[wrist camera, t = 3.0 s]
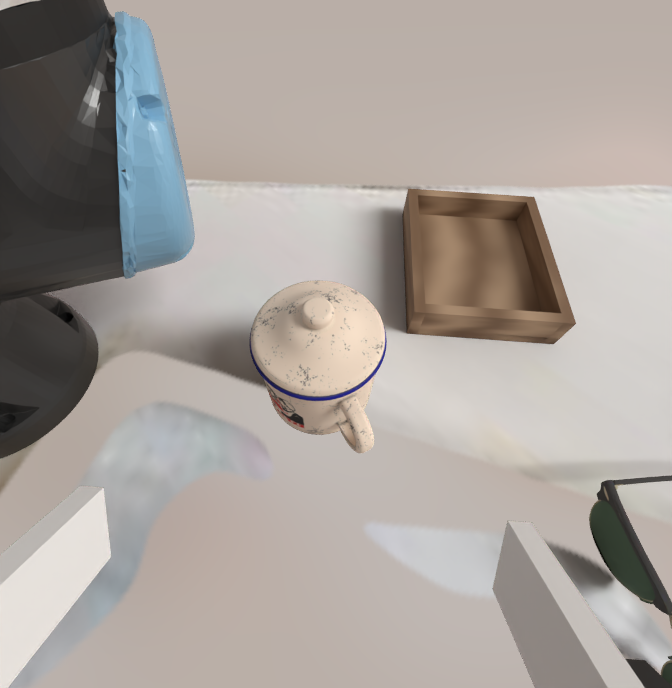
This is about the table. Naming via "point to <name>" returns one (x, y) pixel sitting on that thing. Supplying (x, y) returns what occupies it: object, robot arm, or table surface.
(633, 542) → the black eyeglasses
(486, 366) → the table surface
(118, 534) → the table surface
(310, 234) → the table surface
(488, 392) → the table surface
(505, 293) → the walnut tray
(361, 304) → the teacup with lid
